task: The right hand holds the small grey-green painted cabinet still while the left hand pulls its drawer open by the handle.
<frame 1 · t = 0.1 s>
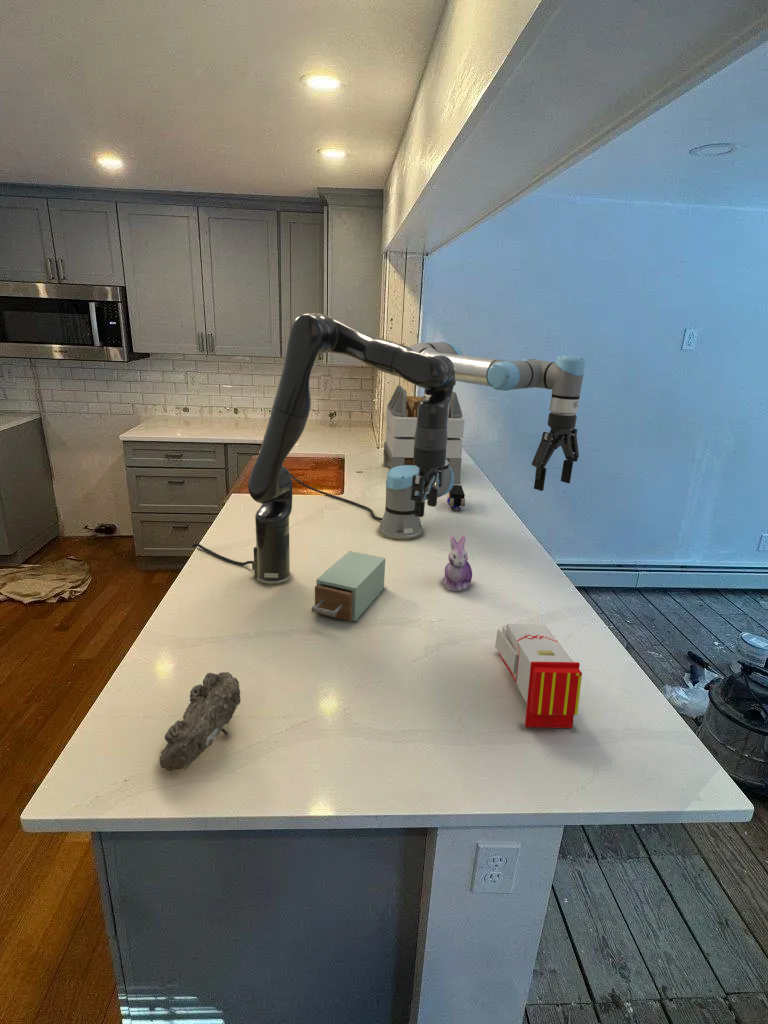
left hand: (425, 510, 136), 29 cm above the counter, tool pointing down, fingers open, 8 cm apart
right hand: (552, 485, 166), 28 cm above the counter, tool pointing down, fingers open, 13 cm apart
toy: (529, 684, 122), on the counter
figurine character: (454, 506, 230), on the counter
cabinet: (351, 599, 154), on the counter
drawer: (343, 592, 148), point 5 cm above the counter, slide at 0.8 cm
figurine: (457, 585, 164), on the counter
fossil: (207, 732, 104), on the counter
white wooden crate: (419, 473, 275), on the counter
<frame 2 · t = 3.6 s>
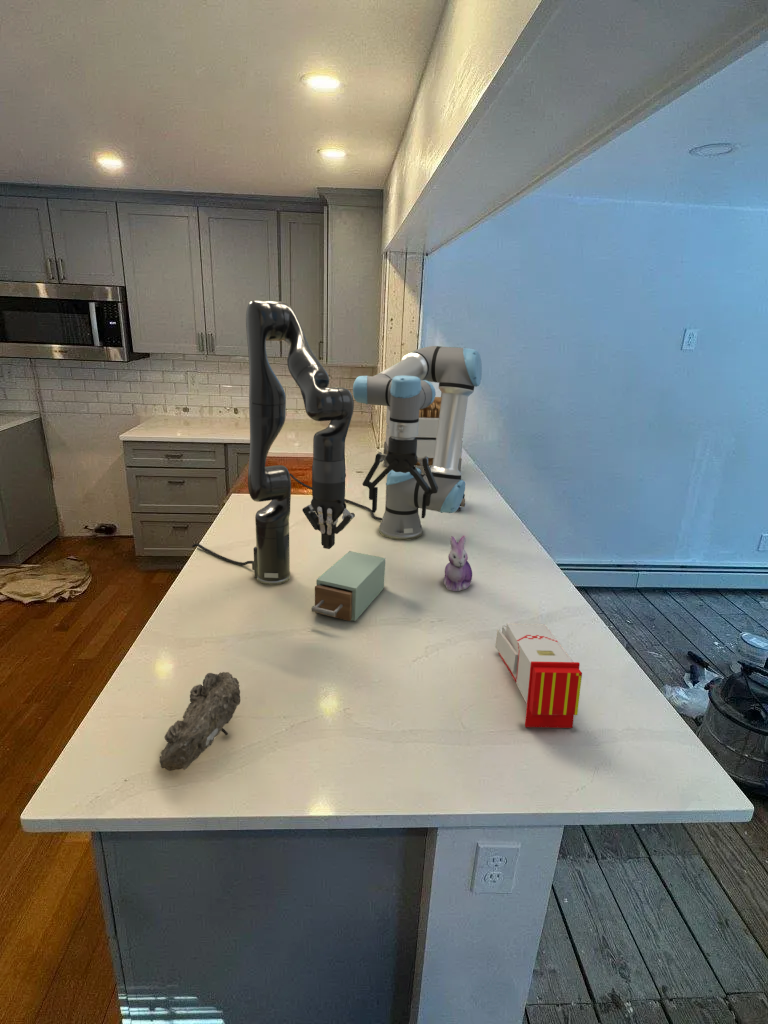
left hand: (328, 547, 134), 21 cm above the counter, tool pointing down, fingers closed
right hand: (398, 514, 154), 22 cm above the counter, tool pointing down, fingers open, 13 cm apart
nothing on the counter moved.
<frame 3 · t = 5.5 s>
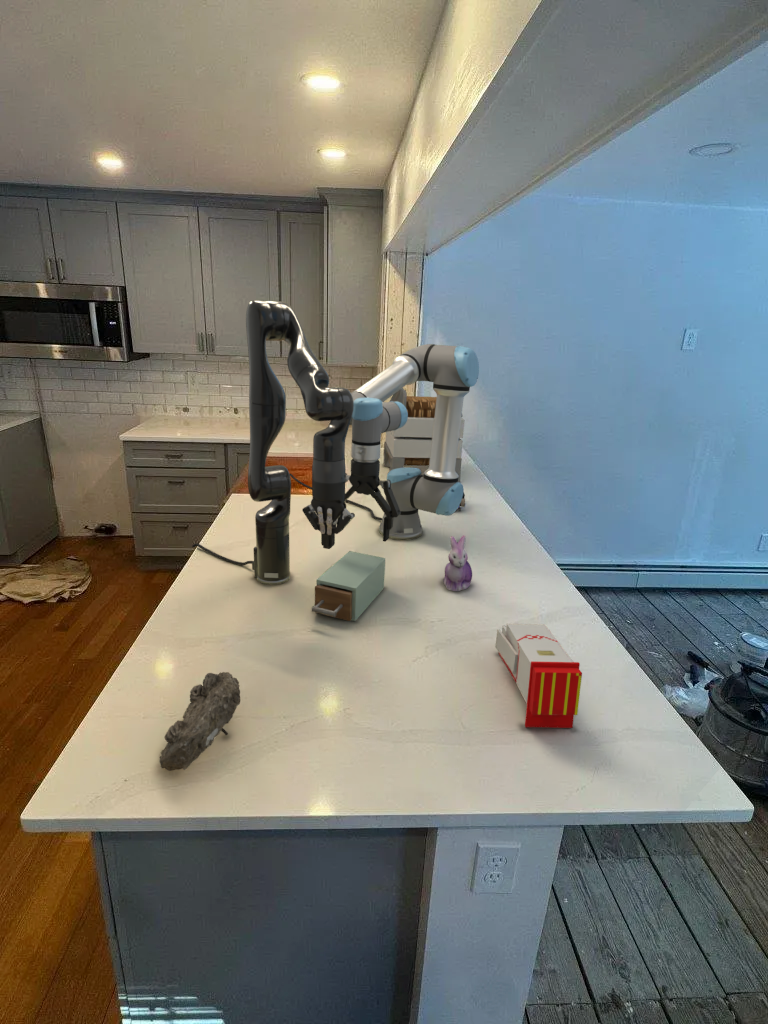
left hand: (328, 547, 134), 21 cm above the counter, tool pointing down, fingers closed
right hand: (362, 535, 154), 17 cm above the counter, tool pointing down, fingers open, 13 cm apart
nothing on the counter moved.
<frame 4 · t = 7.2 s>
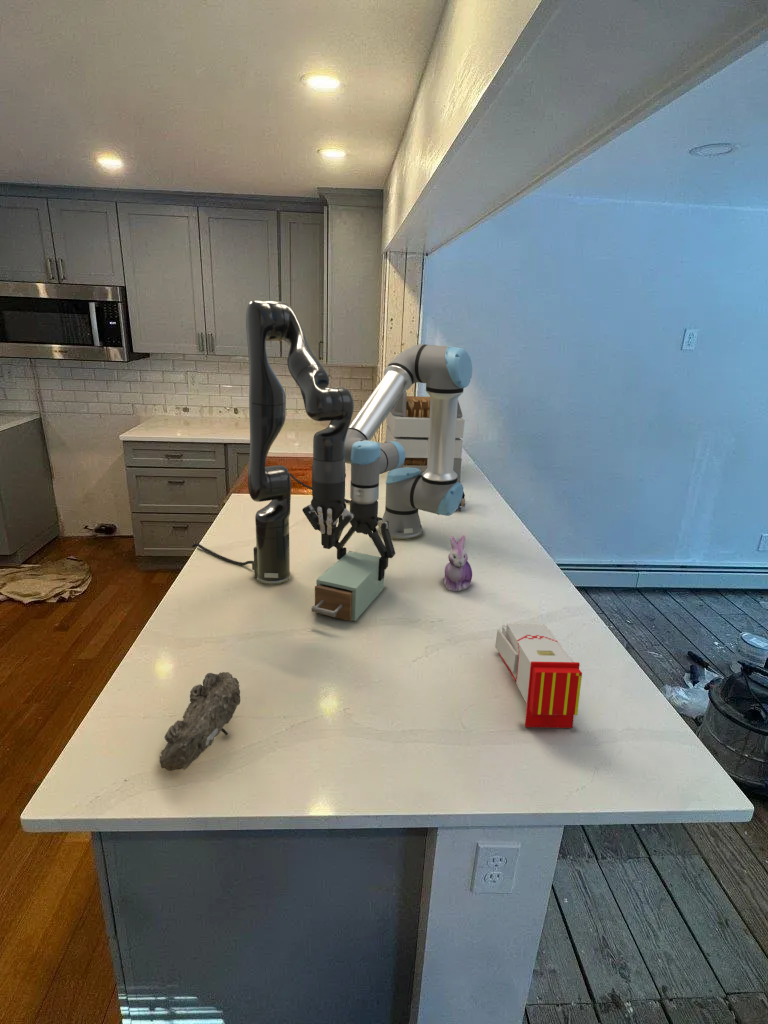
left hand: (328, 547, 134), 21 cm above the counter, tool pointing down, fingers closed
right hand: (361, 574, 158), 5 cm above the counter, tool pointing down, fingers closed on cabinet, 11 cm apart
cabinet: (351, 599, 154), on the counter, touching right hand
everything else where it was.
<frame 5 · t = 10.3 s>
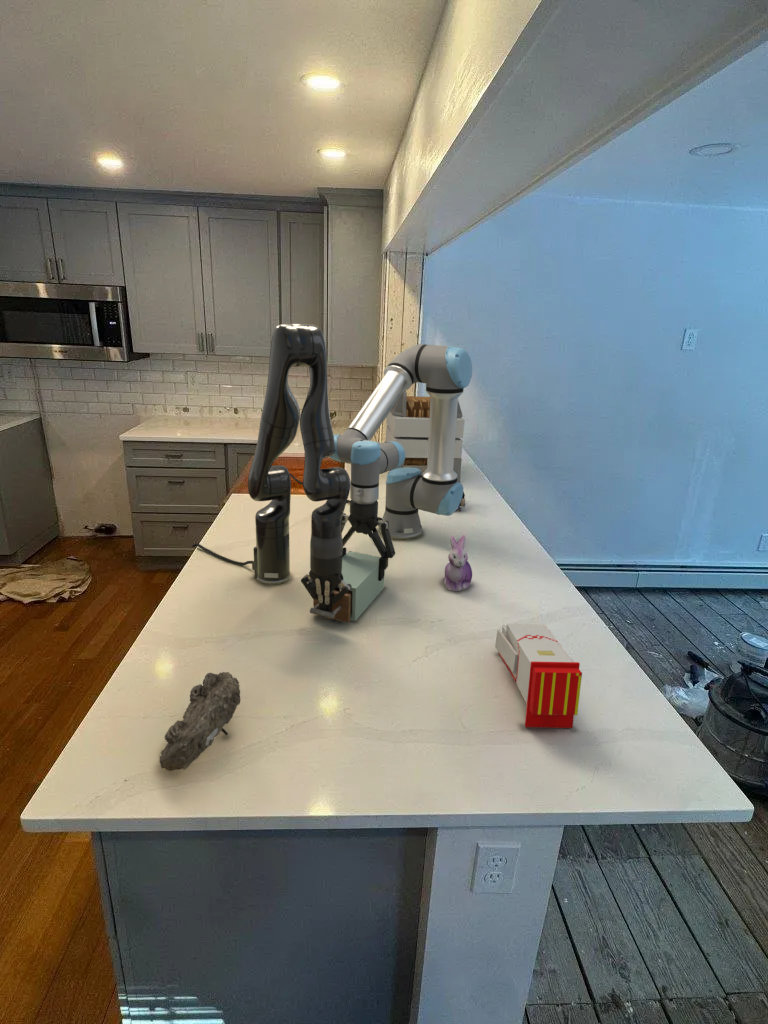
left hand: (325, 615, 139), 3 cm above the counter, tool pointing down, fingers closed
right hand: (361, 574, 158), 5 cm above the counter, tool pointing down, fingers closed on cabinet, 11 cm apart
cabinet: (351, 599, 154), on the counter, touching right hand
drawer: (342, 593, 147), point 5 cm above the counter, slide at 1.6 cm, touching left hand
everything else where it was.
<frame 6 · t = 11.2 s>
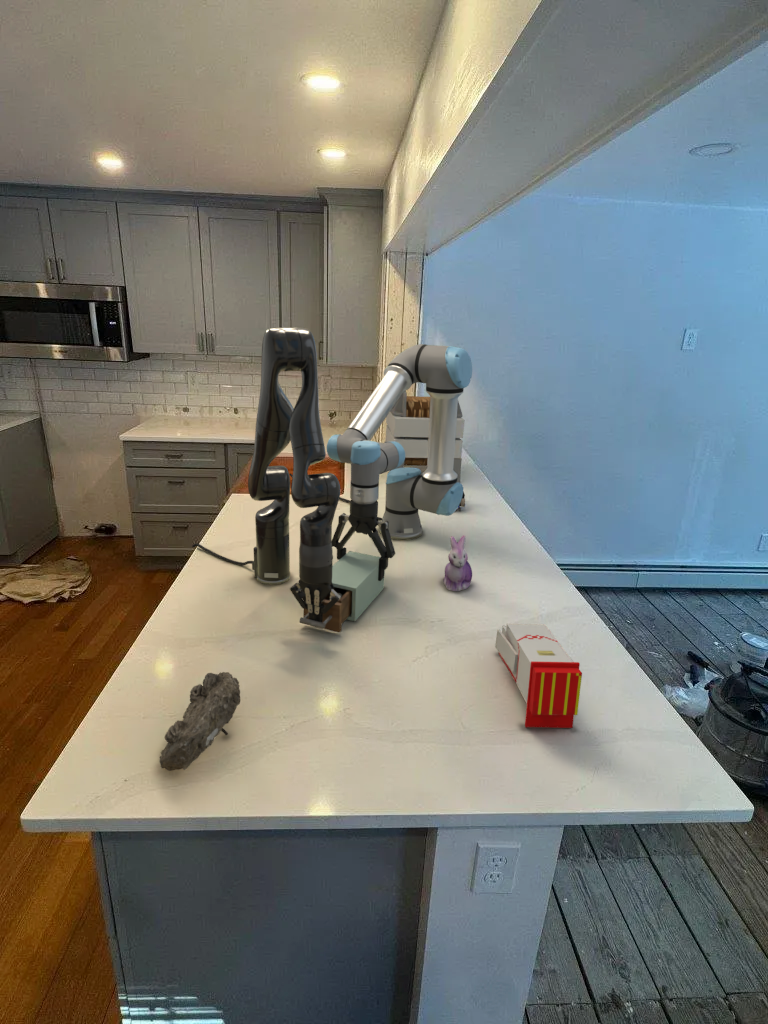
left hand: (315, 625, 134), 3 cm above the counter, tool pointing down, fingers closed
right hand: (361, 574, 158), 5 cm above the counter, tool pointing down, fingers closed on cabinet, 11 cm apart
cabinet: (351, 599, 154), on the counter, touching right hand
drawer: (333, 602, 142), point 5 cm above the counter, slide at 6.6 cm, touching left hand
everything else where it was.
when the right hand's fingers open (5 cm above the counter, at t = 12.9 s): cabinet stays where it is, on the counter.
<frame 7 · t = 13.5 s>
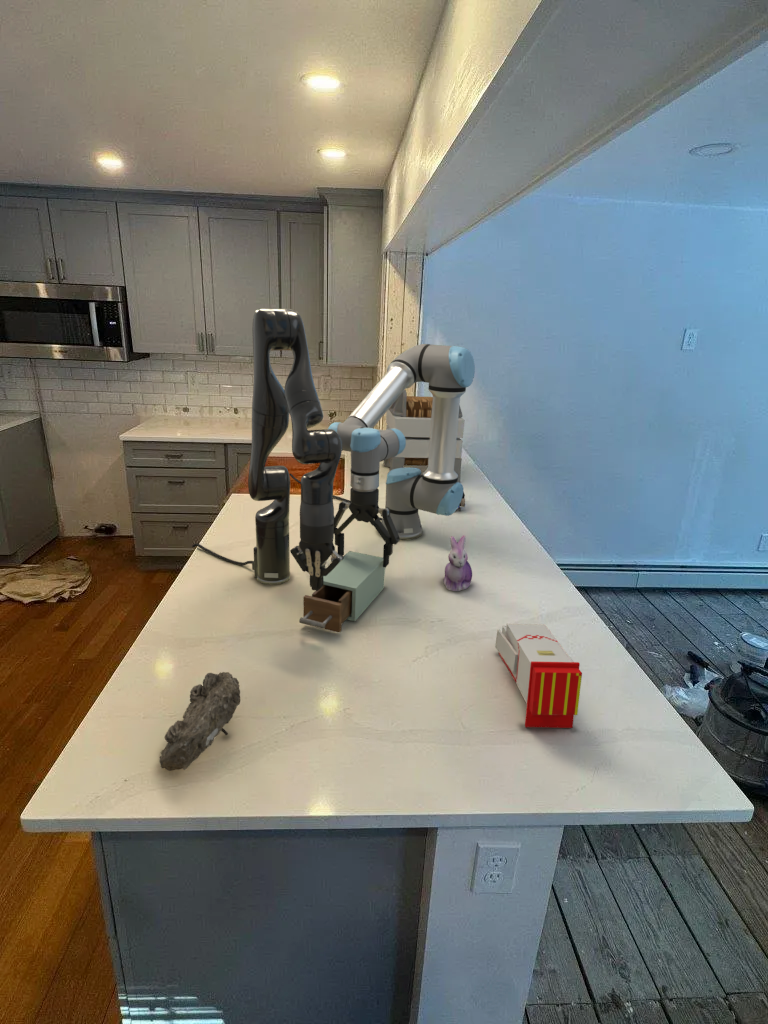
left hand: (316, 588, 131), 13 cm above the counter, tool pointing down, fingers closed
right hand: (363, 560, 157), 9 cm above the counter, tool pointing down, fingers open, 13 cm apart
cabinet: (351, 599, 154), on the counter
drawer: (333, 602, 142), point 5 cm above the counter, slide at 6.6 cm
everything else where it was.
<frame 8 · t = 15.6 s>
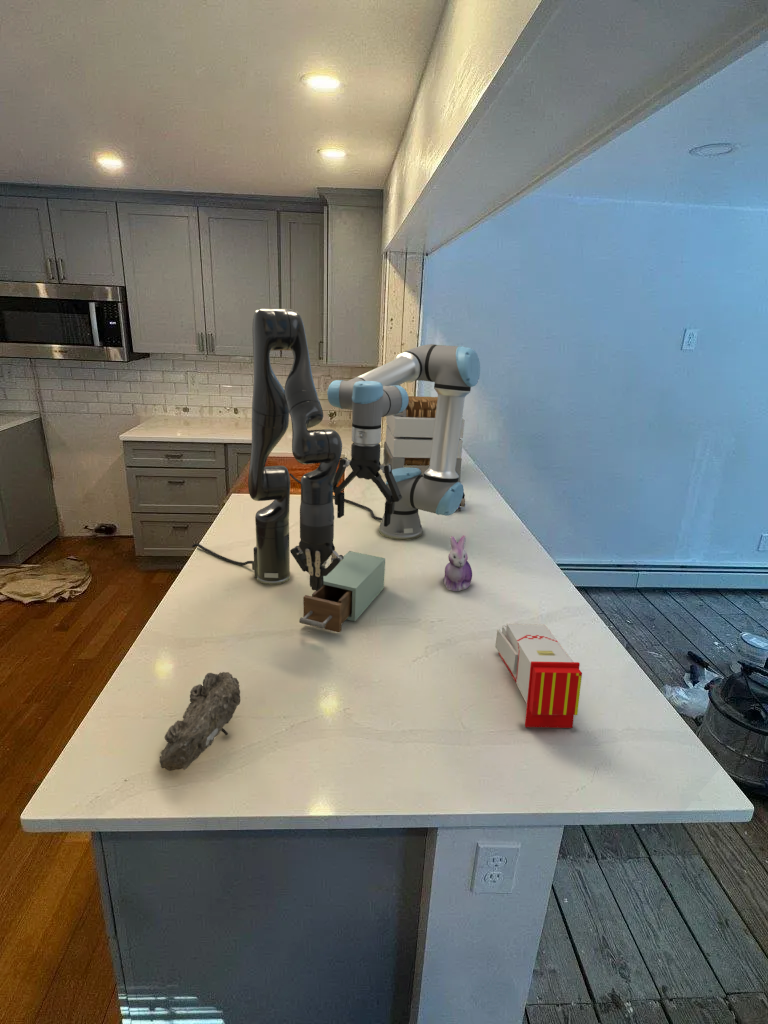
left hand: (316, 588, 131), 13 cm above the counter, tool pointing down, fingers closed
right hand: (363, 520, 152), 21 cm above the counter, tool pointing down, fingers open, 13 cm apart
nothing on the counter moved.
at the end: drawer slide at 6.6 cm; cabinet tilted 0°; cabinet never tilted more than 1° during the clip; cabinet moved 0.1 cm from its start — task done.
